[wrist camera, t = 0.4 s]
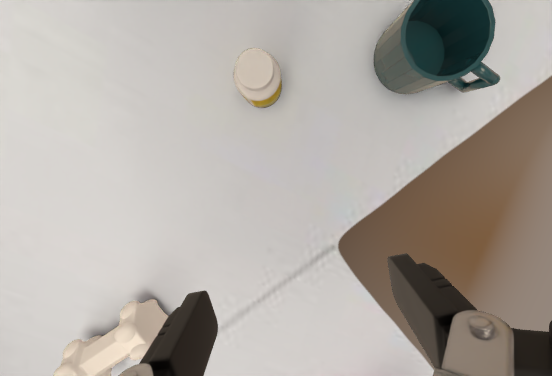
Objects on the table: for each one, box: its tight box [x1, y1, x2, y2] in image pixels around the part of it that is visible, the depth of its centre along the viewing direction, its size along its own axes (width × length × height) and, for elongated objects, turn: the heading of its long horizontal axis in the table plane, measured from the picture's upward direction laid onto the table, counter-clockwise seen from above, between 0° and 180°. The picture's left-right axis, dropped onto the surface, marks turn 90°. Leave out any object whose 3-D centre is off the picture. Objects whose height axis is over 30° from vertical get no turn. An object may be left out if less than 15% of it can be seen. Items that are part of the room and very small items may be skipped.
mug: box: [374, 0, 500, 94], centre depth 32 cm, size 13×9×8 cm
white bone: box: [53, 299, 168, 376], centre depth 40 cm, size 15×9×8 cm, turn 125°
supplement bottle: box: [234, 48, 282, 108], centre depth 32 cm, size 5×5×10 cm
